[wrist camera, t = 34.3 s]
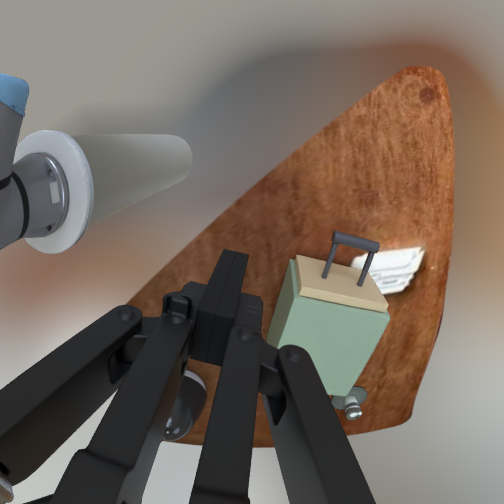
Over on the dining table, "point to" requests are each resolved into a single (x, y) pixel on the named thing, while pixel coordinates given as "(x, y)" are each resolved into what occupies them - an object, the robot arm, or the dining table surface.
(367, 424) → the dining table surface
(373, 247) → the drawer
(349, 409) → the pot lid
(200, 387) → the black bell
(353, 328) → the cabinet
